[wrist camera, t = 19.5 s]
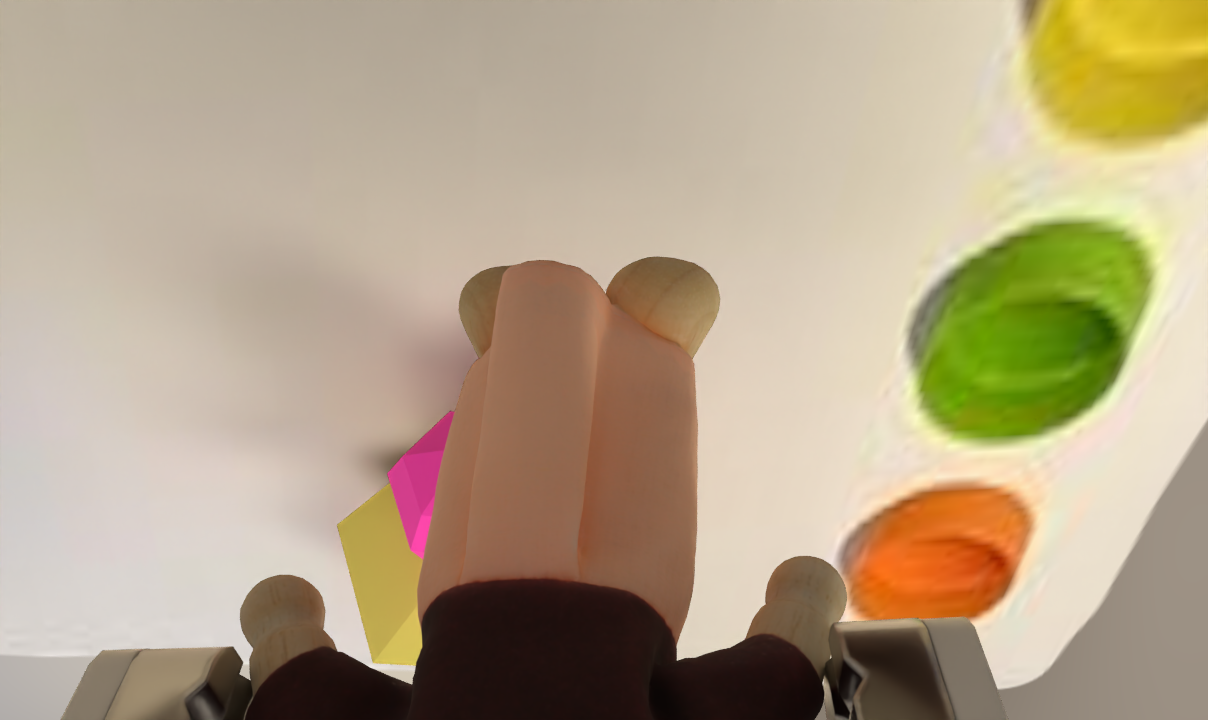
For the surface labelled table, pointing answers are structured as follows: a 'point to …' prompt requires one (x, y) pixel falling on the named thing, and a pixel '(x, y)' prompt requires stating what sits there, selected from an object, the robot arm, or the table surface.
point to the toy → (395, 549)
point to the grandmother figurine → (563, 533)
